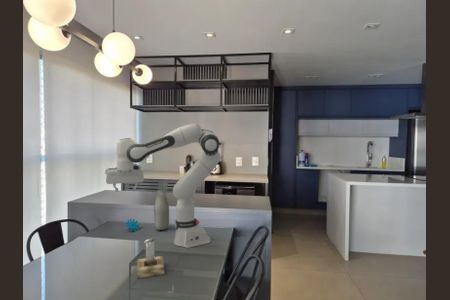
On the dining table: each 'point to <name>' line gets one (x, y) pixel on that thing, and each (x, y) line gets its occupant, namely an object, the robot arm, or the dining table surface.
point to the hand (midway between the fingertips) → (125, 190)
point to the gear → (132, 225)
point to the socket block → (150, 267)
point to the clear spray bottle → (150, 251)
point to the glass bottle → (161, 211)
